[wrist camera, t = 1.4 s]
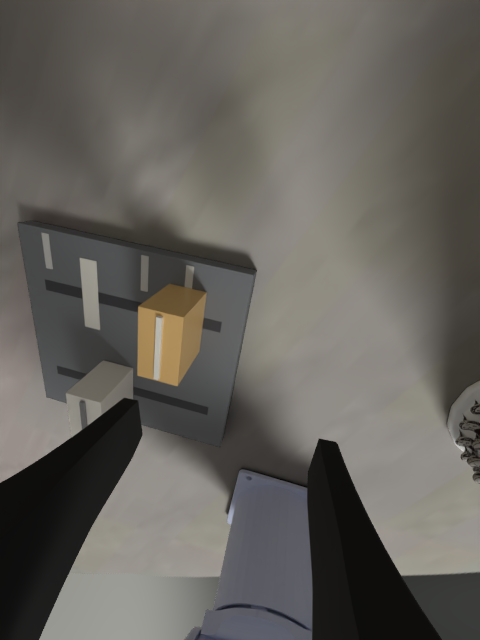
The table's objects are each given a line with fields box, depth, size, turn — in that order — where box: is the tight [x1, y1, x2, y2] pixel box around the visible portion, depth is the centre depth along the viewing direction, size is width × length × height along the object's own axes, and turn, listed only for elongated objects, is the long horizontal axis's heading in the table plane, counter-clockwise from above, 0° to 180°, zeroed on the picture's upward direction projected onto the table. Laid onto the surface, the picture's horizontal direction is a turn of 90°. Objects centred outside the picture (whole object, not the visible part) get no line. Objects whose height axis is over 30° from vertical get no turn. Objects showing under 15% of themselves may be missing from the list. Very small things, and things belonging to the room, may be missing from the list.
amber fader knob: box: [137, 284, 207, 386], centre depth 18 cm, size 2×4×4 cm, turn 170°
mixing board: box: [17, 221, 257, 447], centre depth 22 cm, size 16×15×1 cm
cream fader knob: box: [66, 360, 133, 438], centre depth 21 cm, size 2×4×4 cm, turn 170°
